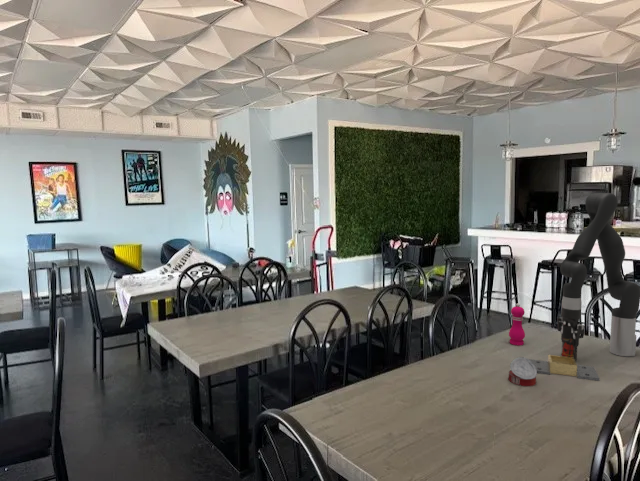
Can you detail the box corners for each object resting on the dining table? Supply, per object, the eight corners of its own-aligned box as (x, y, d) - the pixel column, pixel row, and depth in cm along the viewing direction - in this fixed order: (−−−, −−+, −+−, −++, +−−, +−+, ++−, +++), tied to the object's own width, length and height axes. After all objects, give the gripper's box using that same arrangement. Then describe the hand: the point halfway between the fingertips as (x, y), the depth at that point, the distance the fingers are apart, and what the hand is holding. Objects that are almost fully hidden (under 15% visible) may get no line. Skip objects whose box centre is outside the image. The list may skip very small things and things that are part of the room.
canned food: (532, 390, 180) (547, 371, 177) (523, 396, 173) (538, 376, 170) (508, 371, 187) (521, 352, 184) (498, 375, 180) (512, 356, 176)
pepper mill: (526, 346, 218) (527, 305, 216) (510, 345, 219) (511, 304, 217) (522, 341, 225) (524, 301, 223) (507, 340, 226) (508, 301, 224)
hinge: (593, 368, 190) (593, 358, 189) (599, 380, 178) (599, 369, 177) (528, 361, 199) (528, 351, 199) (529, 372, 187) (529, 361, 187)
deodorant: (558, 356, 204) (560, 323, 203) (571, 356, 205) (572, 323, 203) (566, 361, 198) (568, 327, 197) (579, 360, 199) (581, 327, 197)
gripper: (591, 310, 193) (589, 349, 195) (566, 302, 207) (564, 338, 209) (576, 311, 191) (574, 350, 193) (552, 303, 205) (550, 339, 207)
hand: (569, 344), depth 201 cm, fingers closed on deodorant, 6 cm apart
